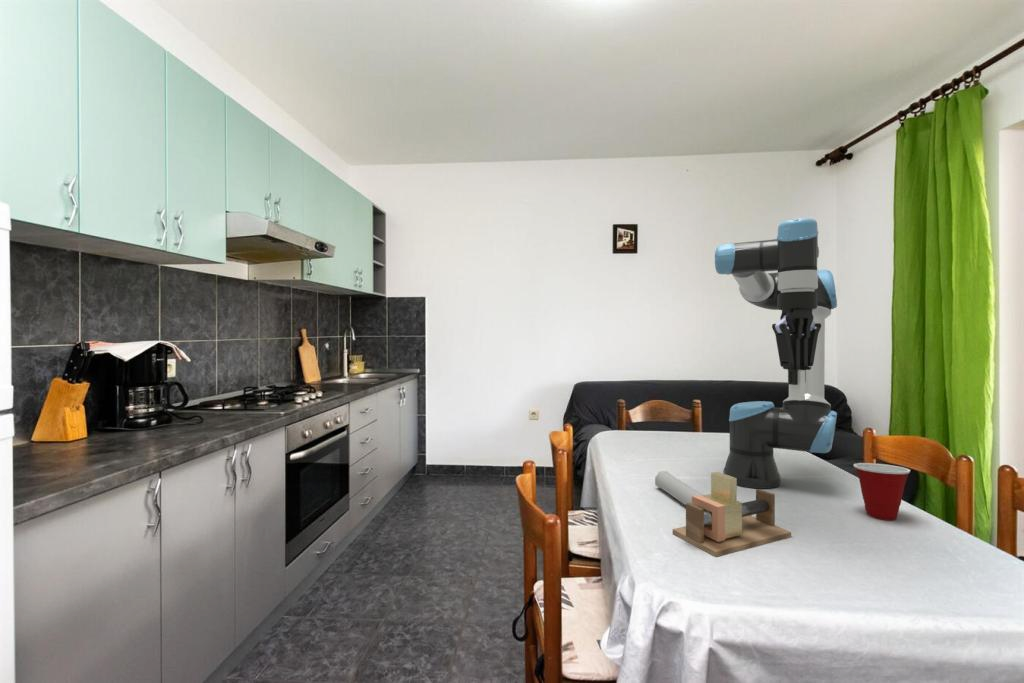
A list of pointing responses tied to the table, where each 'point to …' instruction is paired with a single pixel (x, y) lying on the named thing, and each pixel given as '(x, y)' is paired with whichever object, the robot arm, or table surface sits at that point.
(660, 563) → the table surface
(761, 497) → the base board
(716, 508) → the square pink collar
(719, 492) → the sleeve
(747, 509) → the pipe
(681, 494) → the tube
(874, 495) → the plastic cup
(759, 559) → the table surface
